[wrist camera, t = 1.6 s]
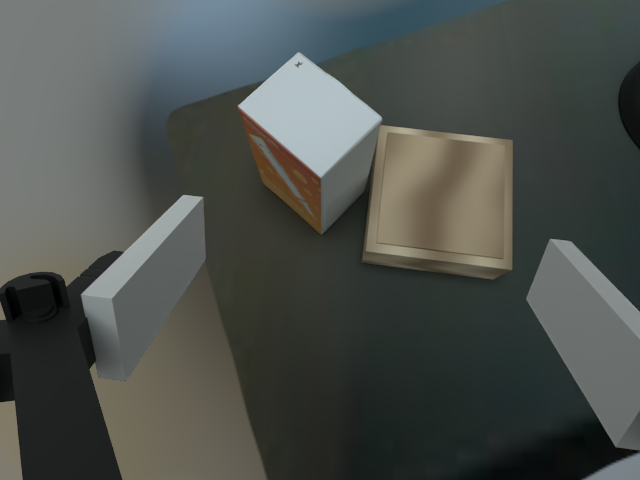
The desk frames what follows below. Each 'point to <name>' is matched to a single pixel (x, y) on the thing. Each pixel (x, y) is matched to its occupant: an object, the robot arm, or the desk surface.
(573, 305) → the robot arm
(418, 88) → the desk surface
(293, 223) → the desk surface
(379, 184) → the oak plinth
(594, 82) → the desk surface
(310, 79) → the small box
